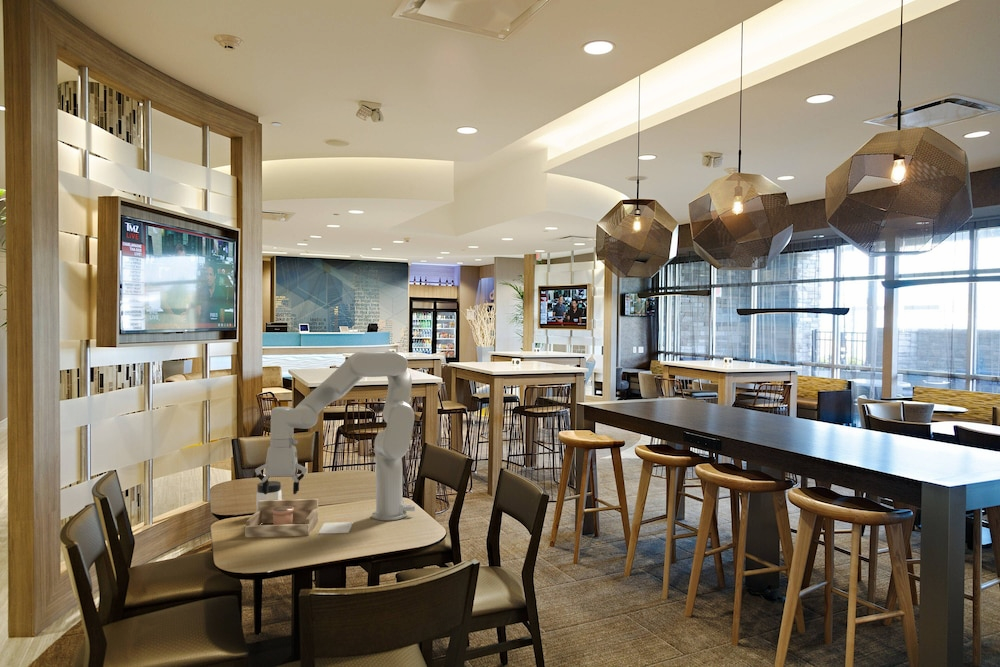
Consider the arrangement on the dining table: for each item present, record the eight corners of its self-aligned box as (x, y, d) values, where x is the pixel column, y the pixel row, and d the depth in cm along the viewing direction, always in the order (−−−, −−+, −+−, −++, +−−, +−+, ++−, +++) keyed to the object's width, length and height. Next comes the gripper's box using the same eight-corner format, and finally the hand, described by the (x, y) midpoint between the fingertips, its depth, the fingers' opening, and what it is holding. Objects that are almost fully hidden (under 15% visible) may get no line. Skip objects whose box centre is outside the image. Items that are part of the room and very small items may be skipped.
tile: (353, 522, 231) (353, 521, 231) (348, 533, 219) (348, 532, 219) (324, 523, 230) (324, 522, 230) (317, 534, 218) (317, 533, 218)
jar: (259, 520, 234) (259, 487, 234) (253, 515, 241) (253, 483, 241) (284, 516, 239) (284, 483, 239) (278, 511, 246) (278, 479, 246)
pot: (296, 525, 228) (296, 505, 228) (291, 532, 221) (291, 511, 221) (274, 526, 227) (274, 506, 227) (269, 532, 220) (269, 511, 220)
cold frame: (318, 521, 233) (317, 498, 233) (308, 535, 217) (308, 511, 217) (259, 523, 231) (259, 500, 231) (245, 537, 215) (244, 513, 215)
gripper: (310, 441, 228) (308, 490, 228) (259, 441, 227) (257, 491, 227) (305, 445, 221) (304, 496, 221) (252, 444, 219) (251, 496, 219)
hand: (280, 493), depth 224 cm, fingers open, 9 cm apart
